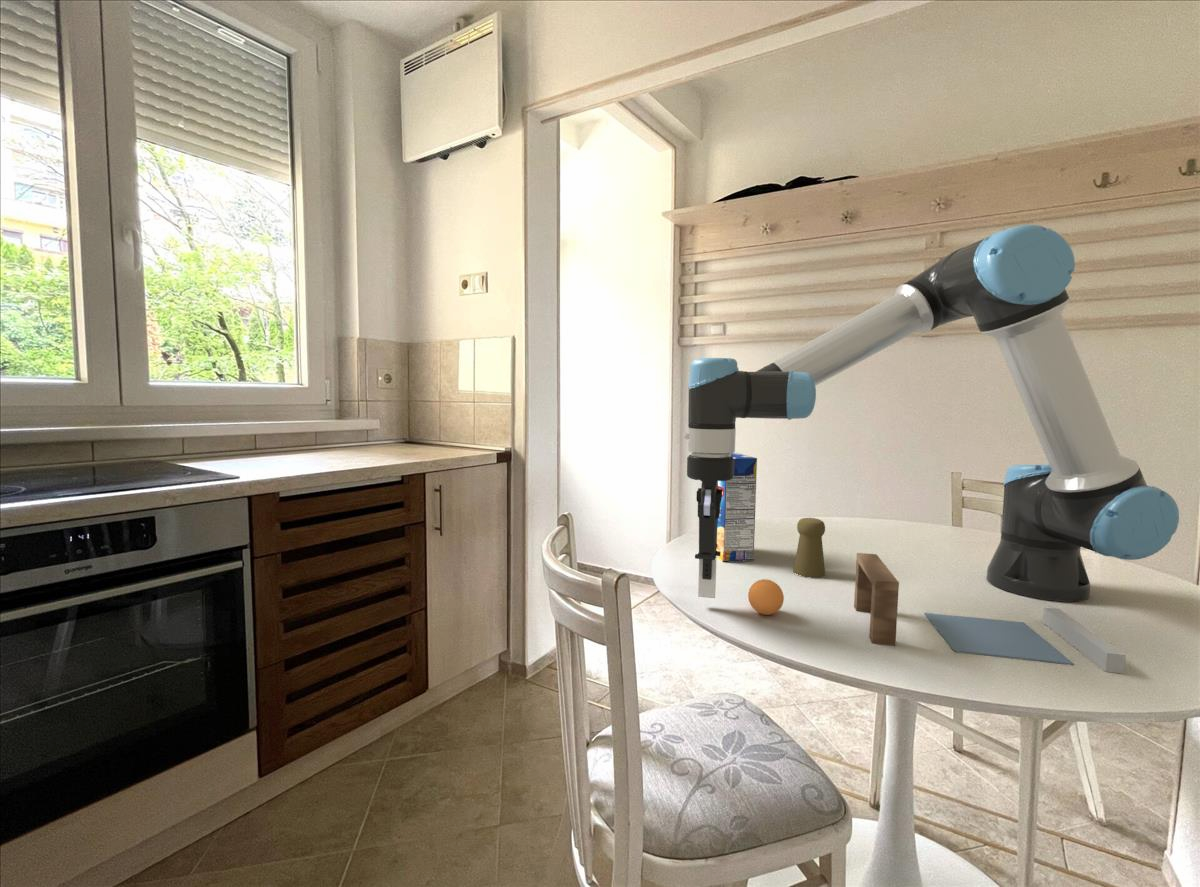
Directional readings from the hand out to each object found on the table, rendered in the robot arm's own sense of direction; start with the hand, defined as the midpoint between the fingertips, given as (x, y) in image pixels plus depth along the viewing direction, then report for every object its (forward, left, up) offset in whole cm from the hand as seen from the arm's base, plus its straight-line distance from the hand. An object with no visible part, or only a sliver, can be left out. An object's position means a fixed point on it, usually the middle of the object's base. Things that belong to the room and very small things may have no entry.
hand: (706, 595), depth 93 cm
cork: (-18, -24, -2) cm, 30 cm away
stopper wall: (-52, 0, -2) cm, 52 cm away
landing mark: (-41, 0, -2) cm, 41 cm away
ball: (-9, 0, +1) cm, 9 cm away
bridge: (-25, 0, -2) cm, 25 cm away
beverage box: (-2, -33, -2) cm, 33 cm away
